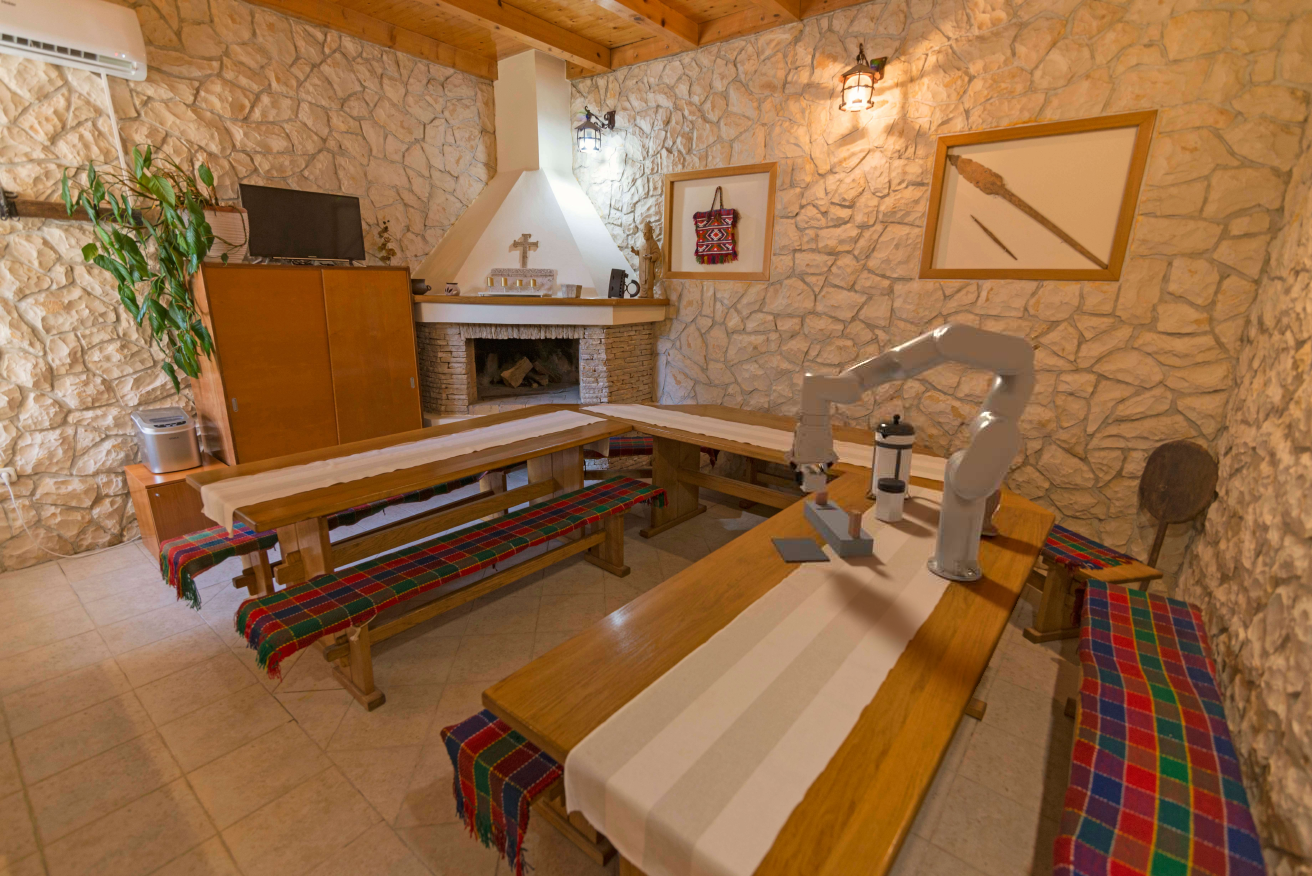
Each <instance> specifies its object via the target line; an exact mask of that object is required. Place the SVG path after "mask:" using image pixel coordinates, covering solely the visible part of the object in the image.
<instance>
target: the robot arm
mask: <svg viewBox="0 0 1312 876" xmlns="http://www.w3.org/2000/svg"><path fill="white" fill-rule="evenodd" d="M1035 357H1036V353H1035V348H1034V346H1033V345H1032V343H1030V341H1028V340H1027V339H1026V338H1023V337H1020V336H1016V335H1014V334H1008V333H1007V334H1006V333H1001V332H996V331H991V330H987V329H983V328H979V327H976V326H972V325H969V324H966V323H964V322H958V321H951V322H948V323H945V324H942V325H940V326H939V327H936V328H934V329H932V330H930V331H927V332H925V333H923V334H921V335H919V336H917V337H915V338H913V339H910V340H909V341H906V342H904V343H902V344H900V345H897V346H896V347H894V348H890V349H889V350H887V351H885V352H883V353H882V354H879V355H877V356H875V357H874V356H873V357H872V358H870V359H868V360H866V361H864V362H861V363H860V364H857V365H855V366H853V367H850V368H849V369H847V370H844V371H842V372H841V373H840V374H838V375H832V374H830V373H828V372H820V371H811V372H806V373H804V375H803V377H802V382H801V383H802V387H801V398H800V410H799V413H798V414H795V415H794V420H795V421H798V422H797V423H796V426H795V428H794V429H795V430H794V434H793V437H792V438H793V439H792V444H791V448H790V449H789V450H788V452H786V454H784V455H783V456H782V458H783V460H784V461H785V463H787V464H788V465H789V466H791V468H792V469H793V471H794V472H793V483H795V485H797V487H800V486H801V477H802V472H801V467H802V465H804V464H819V469H820V470H821V471H822V472H823V473H824V474H825V475H826V476H827V472H828V471H829V469H830V468H832V467H833V466H834V465H835V464H836V463H837V462H839V461H840V457H839V456H838V455H837V453H836V452H835V450H834V432H833V431H834V430H833V426H832V425H831V424H830V413H831V403H835V404H840V405H845V406H846V405H847V406H850V405H853V404H856V403H858V402H859V401H860V400H861V398H862V396H863V394H865V393H867V392H869V391H871V390H873V389H876V388H877V387H880V386H884V385H886V384H889V383H894V382H902V381H907V380H911V379H913V378H915V377H918V376H920V375H921V374H925V373H926V372H928V371H930V370H933V369H936V368H937V367H940V366H943V365H945V364H947V363H949V362H954V363H956V364H959V365H962V366H967V367H970V368H975V369H979V370H983V371H987V372H991V373H992V383H991V385H990V388H989V390H988V391H987V395H986V397H985V399H984V400H983V403H982V404H981V406H980V408H979V409H978V411H977V413H976V415H975V416H974V418H973V420H972V421H971V423H970V424H969V427H968V436H969V440H970V443H969V445H968V447H967V449H960V450H957V451H956V452H954V453H953V454H952V455H950V456H949V458H948V459H947V461H946V463H945V466H944V474H943V489H942V490H943V491H942V501H941V507H940V513H939V520H938V526H937V527H938V528H937V535H936V543H935V549H934V555H932V556H930V557H928V558H927V560H926V567H927V568H928V569H929V571H931V572H933V573H934V574H936V575H938V576H940V577H943V578H945V579H949V580H953V581H959V582H960V581H961V582H973V581H977V580H979V579H981V578H982V576H983V571H982V569H981V567H980V566H979V561H977V560H978V556H979V547H980V541H981V530H982V524H983V517H984V512H985V505H986V498H987V497H989V496H990V495H992V494H993V493H994V492H995V490H996V489H997V488H999V486H1000V485H1001V483H1002V481H1003V480H1004V478H1005V476H1006V474H1007V473H1008V471H1009V470H1010V468H1011V466H1012V465H1013V463H1014V462H1015V460H1016V457H1017V456H1018V453H1019V452H1020V450H1021V447H1022V442H1023V435H1022V431H1021V429H1020V427H1019V425H1018V424H1019V422H1020V421H1021V418H1022V416H1023V415H1024V413H1025V411H1026V410H1027V407H1028V404H1030V401H1031V399H1032V396H1033V394H1034V391H1035V386H1036V381H1037V379H1036V378H1037V376H1036V368H1035V364H1034V362H1035ZM792 458H793V459H794V460H795V462H794V461H793V460H792Z"/></svg>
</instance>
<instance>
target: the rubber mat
mask: <svg viewBox="0 0 1312 876" xmlns="http://www.w3.org/2000/svg"><path fill="white" fill-rule="evenodd" d="M770 540H771V542H772V544H773V545H774V547H775V548H776V550H777V552H778V554H780V556H781V557H782V560H783V561H784V562H785V563H801V562H802V563H804V562H805V563H806V562H830V561H831V558H830V557H829V556H828V555H827V553H825V552H824V550H823V549H822V548H821V547H820V545H819V544H818V543H817V542H816V540H815V539H814V538H813V537H811V536H810V537H777V538H776V537H774V538H770Z"/></svg>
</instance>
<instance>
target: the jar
mask: <svg viewBox="0 0 1312 876" xmlns="http://www.w3.org/2000/svg"><path fill="white" fill-rule="evenodd" d="M905 485H906V483H905V482H904V481H902V480H899V479H895V478H880V479H879V480H878V485H877V496H875V505H874V518H875V519H876V520H877V519H878V520H881V521H883V522H886V523H894V522H902V516H903V511H904V503H905V497H904V495H905V493H904V491H905Z"/></svg>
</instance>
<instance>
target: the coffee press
mask: <svg viewBox="0 0 1312 876" xmlns="http://www.w3.org/2000/svg"><path fill="white" fill-rule="evenodd" d="M892 418H893V419H887V420H882V421H880V422H878V423H877V425H876V426H875V427H874V431H875V437H874V441H873V444H874V446H873V452H872V453H873V454H872V463H871V464H872V465H871V473H870V483H869V489H868V491H867V492H866V493H865V497H866V499H870V498H872V497H874V496H875V497H876V496H877V485H878V480H879V479H880V478H895V479H899V480H902V481H904V482H905V483H906V485H905V491H904V493H905V495H904V498H905V499H906V500H907V501H908V500H910V499H911V495H910V493H909V482H910V475H911V467H912V466H911V465H912V458H913V451H914V450H913V449H914V447H915V446H914V445H915V441H914V440H915V435H916V433H917V430H916V429H915V427H914V425H913V424H912V423H910V422H907V421H904V420H900V419H901V415H900V414H897V413H895V414H894V415H893V416H892ZM870 493H871V494H870ZM869 494H870V495H869ZM868 495H869V496H868ZM907 495H908V497H907Z"/></svg>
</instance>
